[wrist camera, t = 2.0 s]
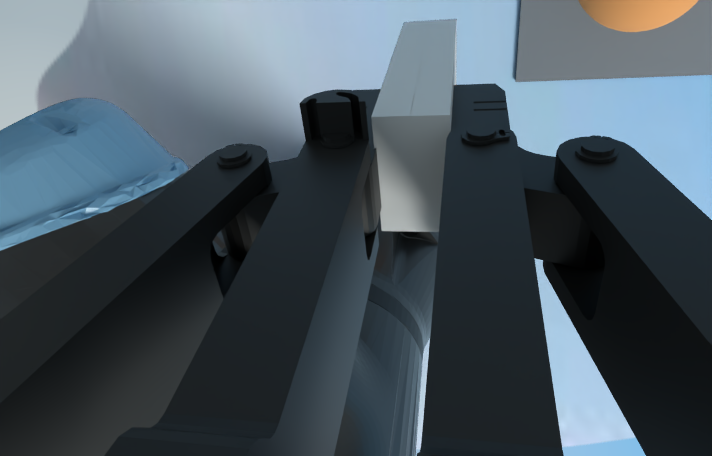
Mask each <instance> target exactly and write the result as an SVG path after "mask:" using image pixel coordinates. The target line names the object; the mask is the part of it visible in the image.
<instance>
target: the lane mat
mask: <svg viewBox="0 0 712 456" xmlns="http://www.w3.org/2000/svg"><path fill="white" fill-rule="evenodd" d="M691 75H712V0H699V1H698V2H697V3H696V4H695V5H694V6H693V7H692V8H691V9H689V10H688V11H687V12H686V13H684V14H683V15H682V16H680V17H679V18H677V19H675V20H674V21H672V22H670V23H668V24H666V25H664V26H661V27H658V28H655V29H652V30H647V31H641V32H623V31H617V30H614V29H610V28H607V27H605V26H603V25H601V24H599V23H598V22H596V21H595V20H594V19H593V18H591V17H590V16H589V15H588V14H587V13H586V12H585V10H584V9H583V8H582V6H581V4H580V3H579V1H578V0H521V8H520V23H519V37H518V52H517V66H516V82H527V81H554V80H582V79H609V78H636V77H663V76H691Z"/></svg>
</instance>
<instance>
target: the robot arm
mask: <svg viewBox="0 0 712 456" xmlns="http://www.w3.org/2000/svg"><path fill="white" fill-rule="evenodd" d="M456 29H457V19H448V20H431V21H414V22H404V23H403V26H402V29H401V32H400V35H399V38H398V41H397V44H396V47H395V49H394V52H393V55H392V58H391V61H390V64H389V67H388V70H387V73H386V76H385V79H384V81H383V84H382V87H381V89H375V90H353V91H352V90H330V91H324V92H320V93H316V94H313V95H311V96H309V97H307V98H305V99H304V100H303V101H302V102H301V103H300V109H301V115H302V121H303V127H304V133H305V139H306V142H305V144H304V146H303V148H302V150H301V152H300V154H299V156H298V157H297V158H293V159H289V160H284V161H278V162H272V163H269V160H268V156H267V151H266V150H265V149H264V148H262V147H261V146H257V145H253V144H235V145H234V144H233V145H228V146H226V147H225V148H223V149H220V150H217V151H215V152H214V153H212V154H210V155H209V156H207V157H206V158H205V159H203V160H202V161H201V162H200V163H198V164H197V165H196V166H195V167H193V168H192V169H191V170H189V171H188V168H189V167H188V166H187V165H186V164H185V163H184V162H183V160H181V159H179V158H177V157H173V156H172V155H171V154H170V153H168V152H167V151H166V150H165V149H164V148H163V147H162V146H161V145H160V144H159V143H158V142H157V141H156V140H155V139H154V138H153V137H151V136H150V135H149V134H148V133H147V132H146V131H145V130H144V129H143V128H142V127H141V126H140V125H139V124H138V123H137V122H135V121H134V120H133V119H132V118H131V117H130V116H129V115H128V114H127V113H126V112H124V111H123V110H122V109H120V108H119V107H117V106H115V105H114V104H112V103H109V102H106V101H103V100H99V99H93V98H77V99H71V100H67V101H64V102H60V103H58V104H55V105H52V106H50V107H47V108H45V109H43V110H40V111H38V112H36V113H34V114H32V115H30V116H28V117H25V118H24V119H22V120H20V121H18V122H16V123H14V124H12V125H10V126H8V127H6V128H4V129H3V130H1V131H0V456H415V454H416V440H417V426H418V412H419V399H420V387H421V375H422V360H423V350H424V347H425V346H426V344H427V342H428V340H429V338H430V346H429V359H428V371H427V383H426V395H425V408H424V420H423V432H422V443H421V450H420V452H419V453H417V456H563V450H562V444H561V438H560V431H559V424H558V417H557V410H556V403H555V397H554V390H553V383H552V376H551V369H550V363H549V356H548V349H547V342H546V335H545V329H544V322H543V315H542V308H541V301H540V294H539V288H538V281H537V274H536V267H535V260H534V258H536V259H541V260H543V268H544V272H545V274H546V276H547V278H548V280H549V282H550V283H551V285H552V287H553V289H554V291H555V292H556V294H557V296H558V298H559V300H560V301H561V303H562V305H563V307H564V309H565V310H566V312H567V314H568V316H569V318H570V319H571V321H572V323H573V325H574V327H575V328H576V330H577V332H578V334H579V336H580V337H581V339H582V341H583V343H584V345H585V346H586V348H587V350H588V352H589V354H590V355H591V357H592V359H593V361H594V363H595V365H596V366H597V368H598V370H599V372H600V374H601V375H602V377H603V379H604V381H605V383H606V384H607V386H608V388H609V390H610V392H611V393H612V395H613V397H614V399H615V401H616V402H617V404H618V406H619V408H620V410H621V411H622V413H623V415H624V417H625V419H626V420H627V422H628V424H629V426H630V428H631V429H632V431H633V433H634V435H635V437H636V438H637V440H638V442H639V444H640V446H641V447H642V449H643V451H644V453H645V455H646V456H712V220H711V219H710V218H709V217H708V216H707V215H705V214H704V213H703V212H702V211H701V210H700V209H699V208H698V207H697V206H696V205H695V204H693V203H692V202H691V201H690V200H689V199H688V198H687V197H686V196H685V195H684V194H683V193H682V192H680V191H679V190H678V189H677V188H676V187H675V186H674V185H673V184H672V183H671V182H670V181H668V180H667V179H666V178H665V177H664V176H663V175H662V174H661V173H660V172H659V171H658V170H657V169H655V168H654V167H653V166H652V165H651V164H650V163H649V162H648V161H647V160H646V159H645V158H643V157H642V156H641V155H640V154H639V153H638V152H637V151H636V150H635V149H634V148H632V147H630V146H629V145H627V144H626V143H624V142H621V141H617V140H614V139H612V138H610V137H605V136H603V137H601V136H590V137H579V138H575V139H570V140H568V141H566V142H564V143H562V144H561V145H560V146H559V148H558V150H557V153H556V157H552V156H545V155H540V154H535V153H532V152H529V151H526V150H524V149H522V148H520V147H518V145H517V138H516V136H515V134H514V132H513V131H511V130H510V125H509V117H508V110H507V103H506V96H505V91H504V90H502V89H501V88H500V87H499V86H497V85H496V84H471V85H456Z"/></svg>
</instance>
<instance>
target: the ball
mask: <svg viewBox="0 0 712 456" xmlns="http://www.w3.org/2000/svg"><path fill="white" fill-rule="evenodd" d="M578 1H579V3H580V4H581V6H582V8H583V9H584V10H585V12H586V13H587V14H588V15H589V16H590V17H591V18H593V19H594V20H595V21H596V22H598V23H599V24H601V25H603V26H605V27H607V28H610V29H614V30H617V31H623V32H641V31H647V30H652V29H655V28H658V27H661V26H664V25H666V24H668V23H670V22H672V21H674V20H675V19H677V18H679V17H680V16H682V15H683V14H684V13H686V12H687V11H688V10H689V9H691V8H692V7H693V6H694V5H695V4H696V3H697V2H698V1H699V0H578Z"/></svg>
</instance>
